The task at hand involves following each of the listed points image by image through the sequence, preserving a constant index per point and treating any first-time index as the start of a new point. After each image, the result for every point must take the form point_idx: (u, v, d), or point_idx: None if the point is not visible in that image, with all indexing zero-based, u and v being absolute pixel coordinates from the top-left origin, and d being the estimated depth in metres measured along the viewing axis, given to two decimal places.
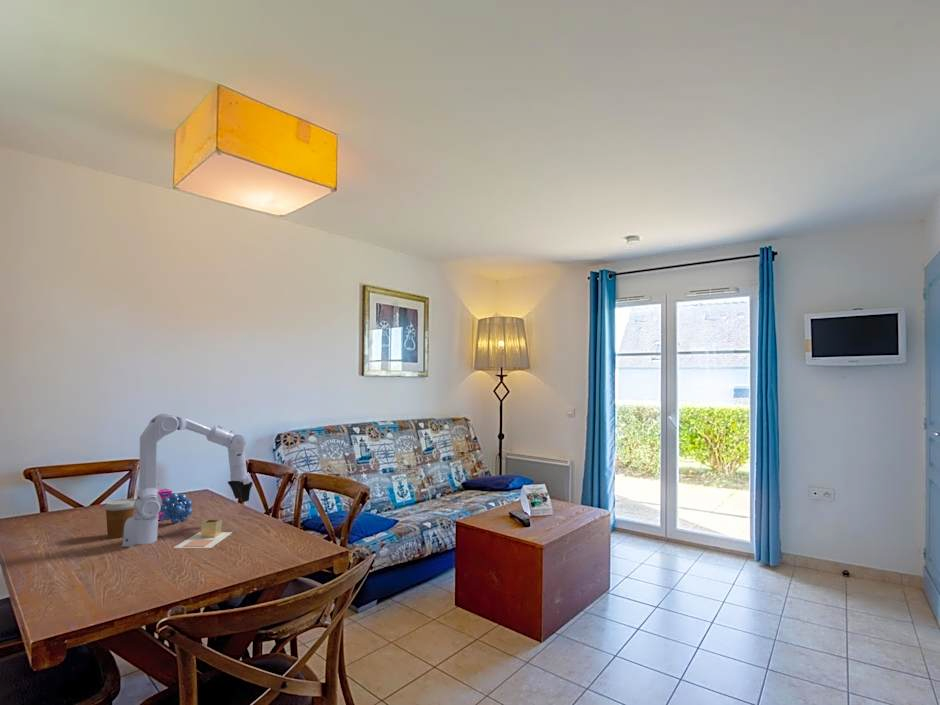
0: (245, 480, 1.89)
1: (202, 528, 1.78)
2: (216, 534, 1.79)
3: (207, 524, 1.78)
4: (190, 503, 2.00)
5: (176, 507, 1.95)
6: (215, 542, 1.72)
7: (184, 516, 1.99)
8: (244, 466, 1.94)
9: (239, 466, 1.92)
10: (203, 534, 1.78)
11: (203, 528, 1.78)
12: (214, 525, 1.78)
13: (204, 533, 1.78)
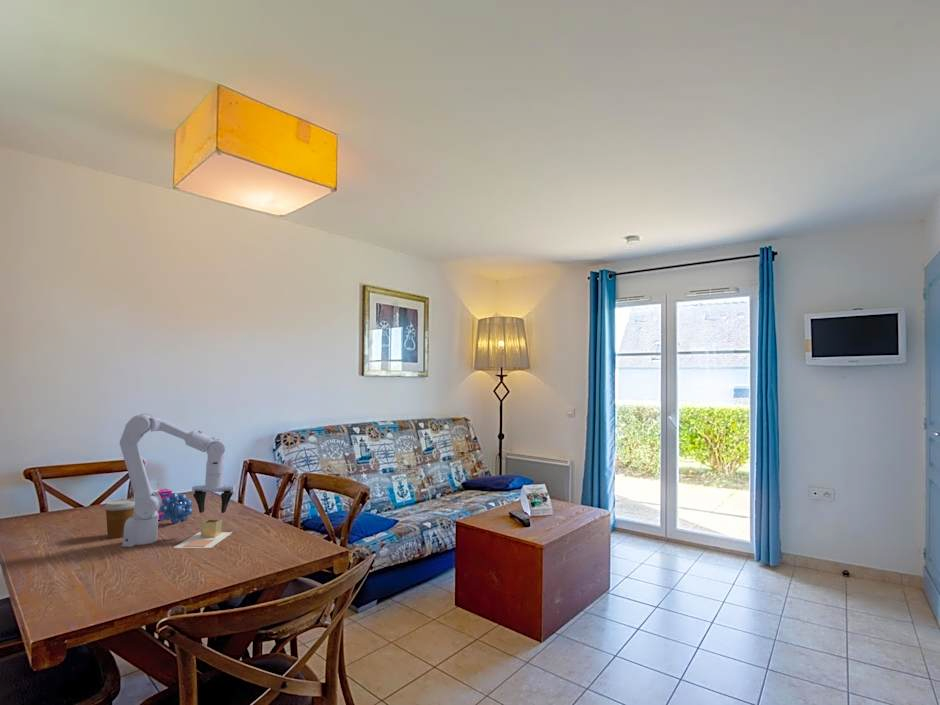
0: (234, 487, 1.82)
1: (202, 528, 1.78)
2: (216, 534, 1.79)
3: (207, 524, 1.78)
4: (190, 503, 2.00)
5: (176, 507, 1.95)
6: (215, 542, 1.72)
7: (184, 516, 1.99)
8: None
9: (222, 474, 1.82)
10: (203, 534, 1.78)
11: (203, 528, 1.78)
12: (214, 525, 1.78)
13: (204, 533, 1.78)
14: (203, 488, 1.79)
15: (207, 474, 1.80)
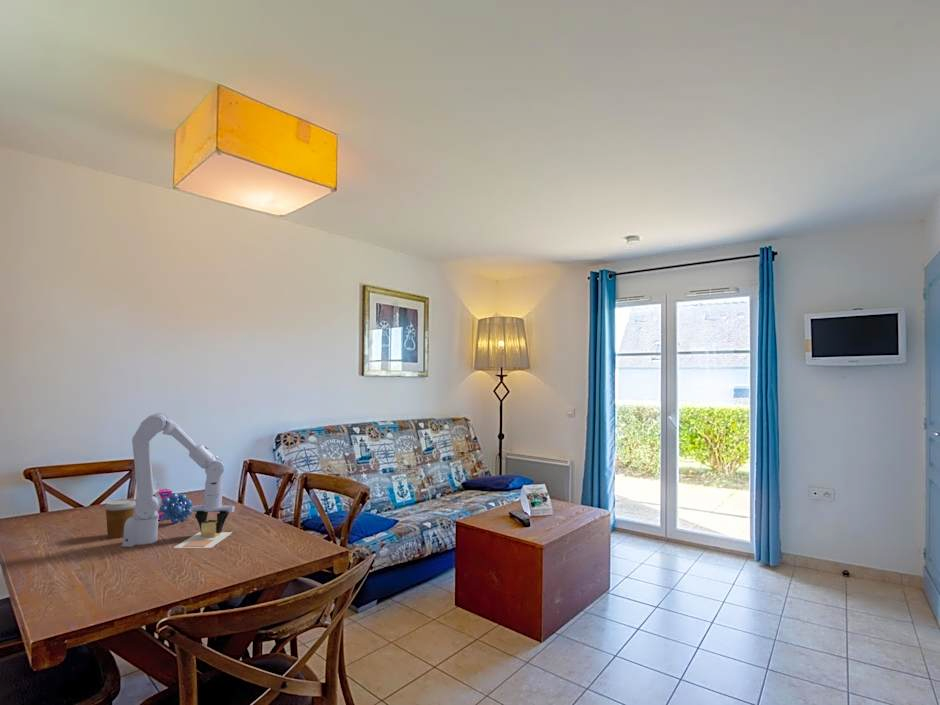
0: (233, 508, 1.81)
1: (202, 528, 1.78)
2: (216, 534, 1.79)
3: (207, 524, 1.78)
4: (190, 503, 2.00)
5: (176, 507, 1.95)
6: (215, 542, 1.72)
7: (184, 516, 1.99)
8: None
9: (221, 494, 1.81)
10: (203, 534, 1.78)
11: (203, 528, 1.78)
12: (214, 525, 1.78)
13: (204, 533, 1.78)
14: (202, 508, 1.79)
15: (206, 494, 1.79)
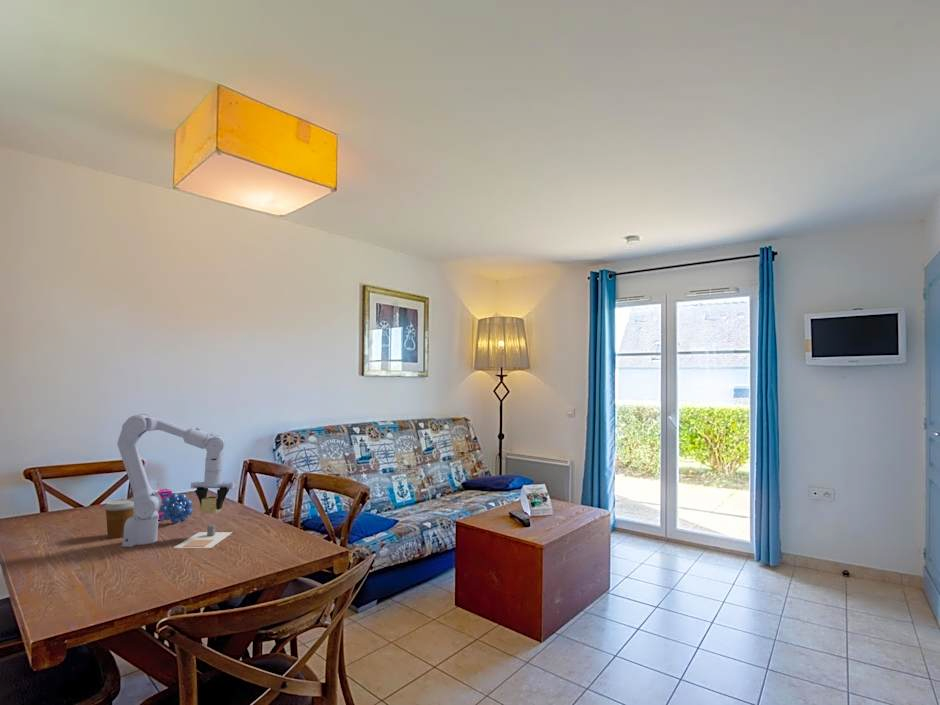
0: (233, 484, 1.81)
1: (202, 504, 1.78)
2: (216, 510, 1.79)
3: (207, 500, 1.78)
4: (190, 503, 2.00)
5: (176, 507, 1.95)
6: (215, 542, 1.72)
7: (184, 516, 1.99)
8: None
9: (221, 470, 1.81)
10: (203, 510, 1.78)
11: (203, 504, 1.78)
12: (214, 501, 1.78)
13: (204, 509, 1.78)
14: (202, 484, 1.78)
15: (206, 470, 1.79)
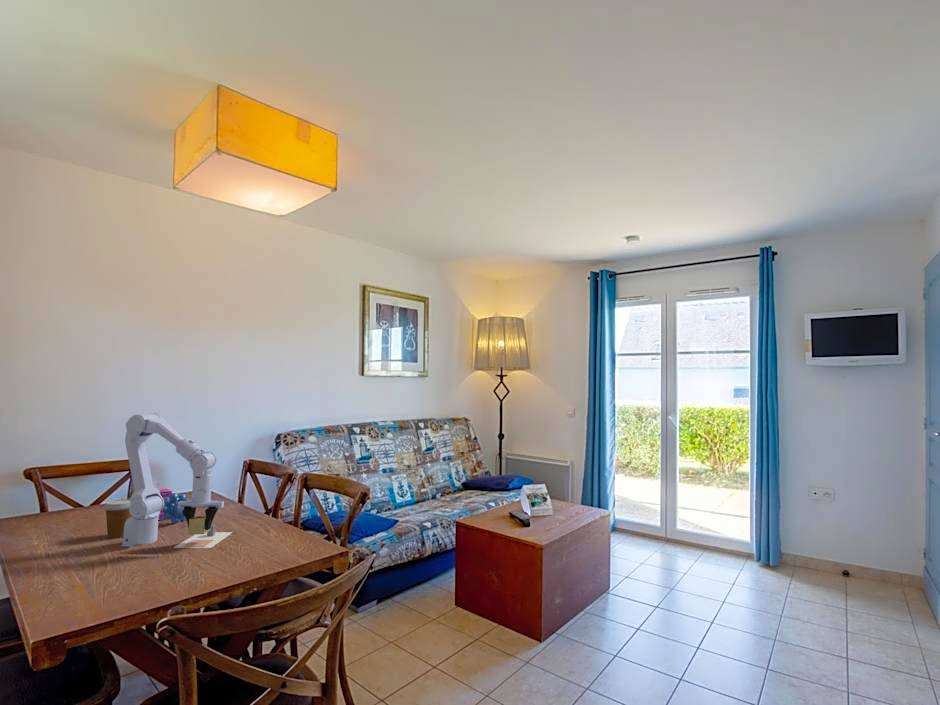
0: (222, 503, 1.72)
1: (190, 524, 1.69)
2: (205, 531, 1.70)
3: (195, 520, 1.69)
4: None
5: (176, 507, 1.95)
6: (215, 542, 1.72)
7: (184, 516, 1.99)
8: None
9: (209, 489, 1.72)
10: (191, 531, 1.69)
11: (191, 524, 1.69)
12: (203, 521, 1.69)
13: (192, 530, 1.69)
14: (189, 504, 1.70)
15: (194, 489, 1.70)
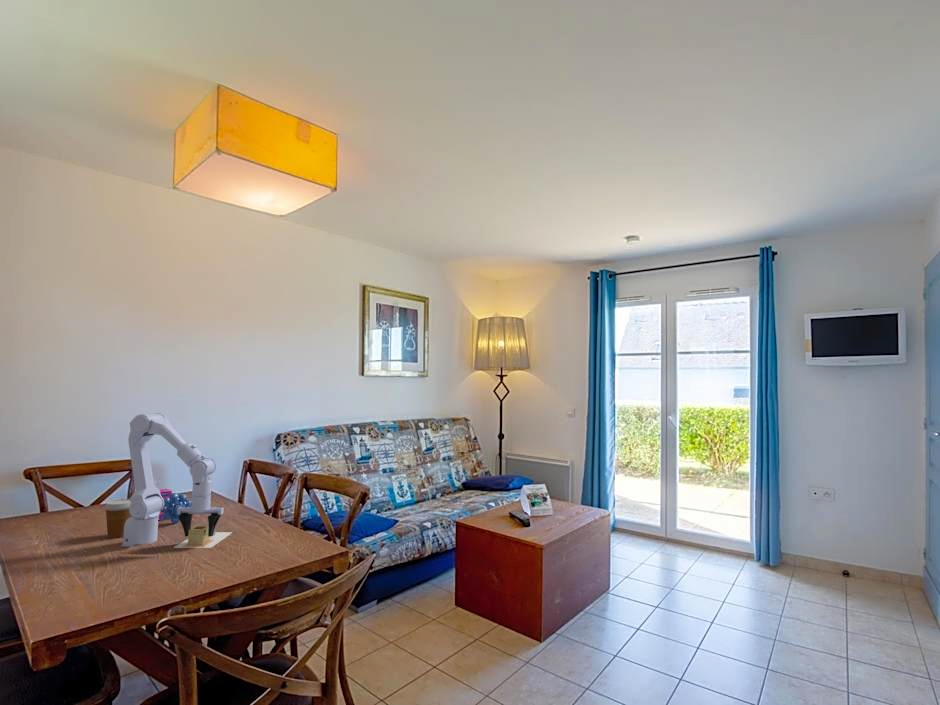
0: (222, 509, 1.72)
1: (189, 535, 1.69)
2: (204, 541, 1.70)
3: (194, 531, 1.69)
4: (190, 503, 2.00)
5: (176, 507, 1.95)
6: (215, 542, 1.72)
7: None
8: None
9: (209, 495, 1.72)
10: (190, 541, 1.69)
11: (190, 535, 1.69)
12: (202, 532, 1.69)
13: (191, 540, 1.69)
14: (189, 510, 1.69)
15: (193, 495, 1.70)
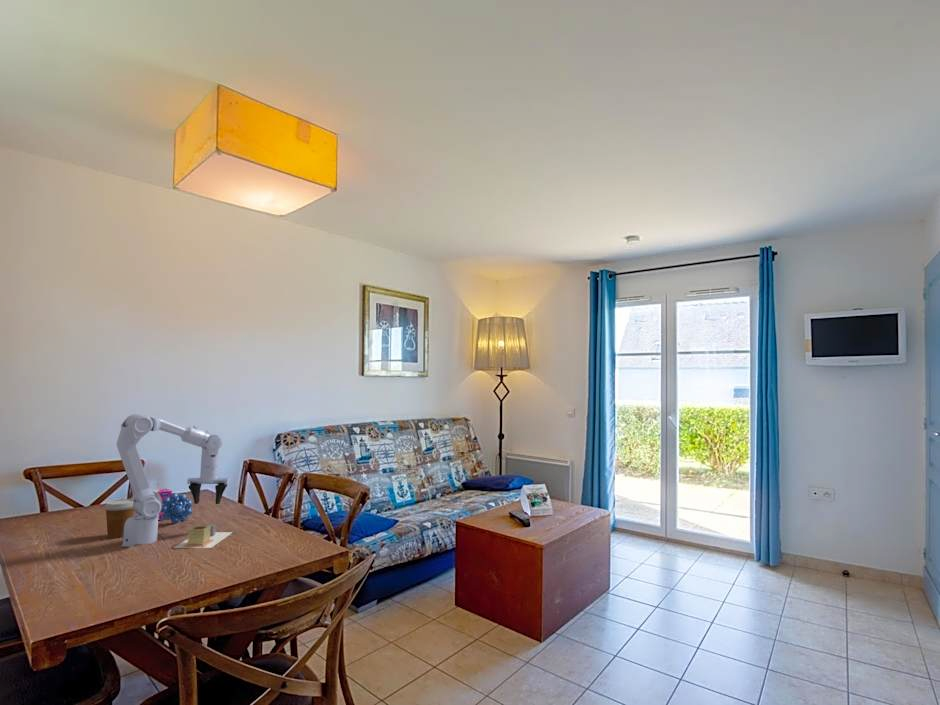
0: (228, 480, 1.88)
1: (189, 535, 1.69)
2: (204, 541, 1.70)
3: (194, 531, 1.69)
4: (190, 503, 2.00)
5: (176, 507, 1.95)
6: (215, 542, 1.72)
7: (184, 516, 1.99)
8: None
9: (216, 467, 1.88)
10: (190, 541, 1.69)
11: (190, 535, 1.69)
12: (202, 532, 1.69)
13: (191, 540, 1.69)
14: (198, 480, 1.86)
15: (202, 467, 1.86)
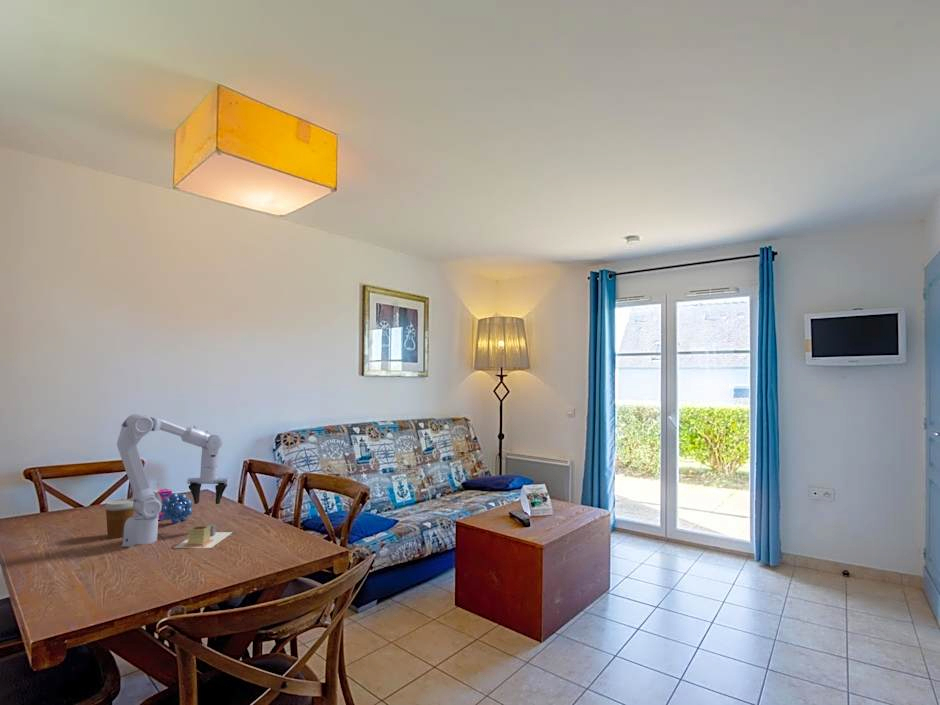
0: (228, 480, 1.89)
1: (189, 535, 1.69)
2: (204, 541, 1.70)
3: (194, 531, 1.69)
4: (190, 503, 2.00)
5: (176, 507, 1.95)
6: (215, 542, 1.72)
7: (184, 516, 1.99)
8: None
9: (216, 467, 1.89)
10: (190, 541, 1.69)
11: (190, 535, 1.69)
12: (202, 532, 1.69)
13: (191, 540, 1.69)
14: (198, 480, 1.86)
15: (202, 467, 1.86)
